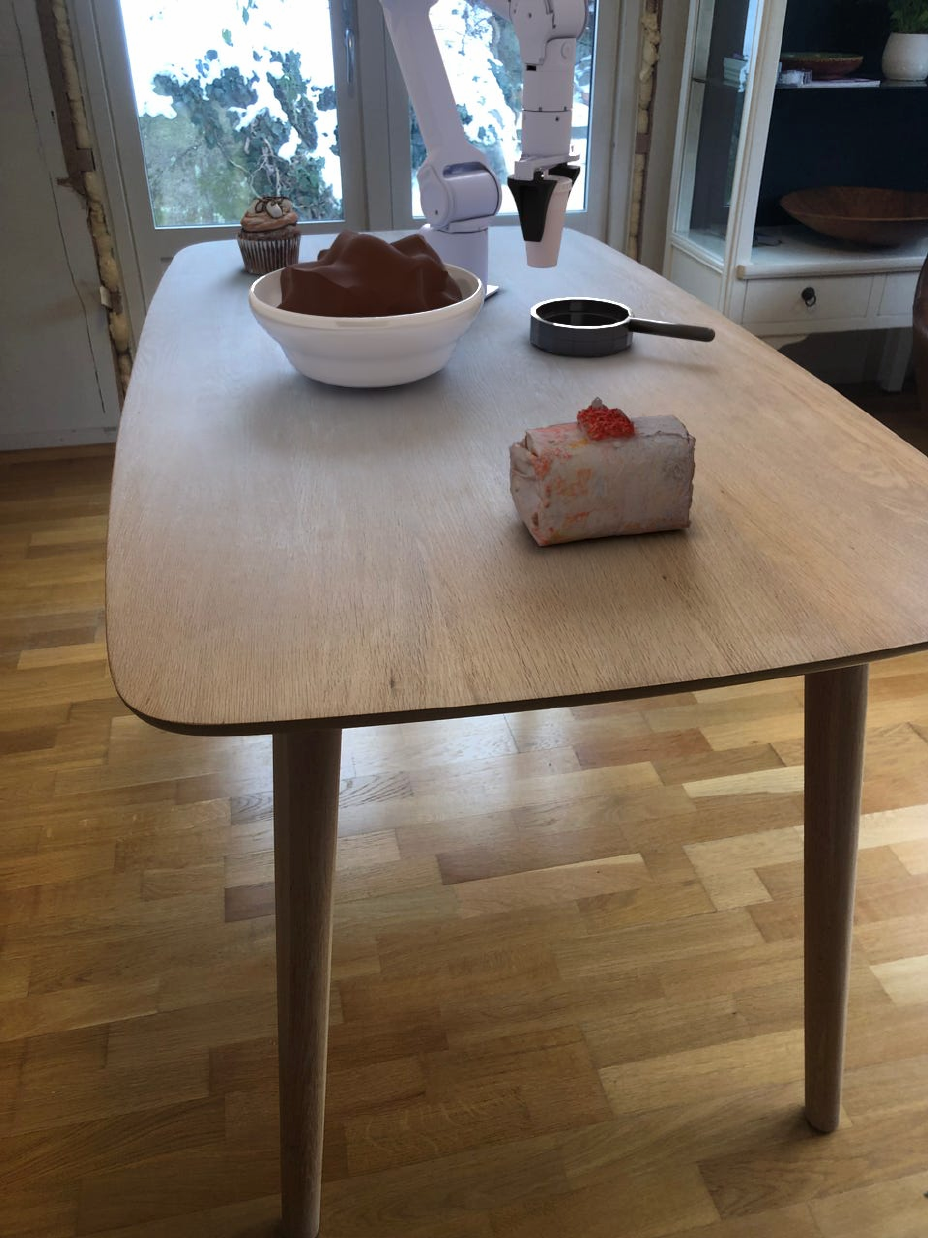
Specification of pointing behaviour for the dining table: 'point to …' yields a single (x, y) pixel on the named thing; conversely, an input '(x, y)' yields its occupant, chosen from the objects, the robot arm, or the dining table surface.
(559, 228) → the smoothie
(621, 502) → the food item
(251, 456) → the dining table surface
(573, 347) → the pan
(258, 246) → the cupcake
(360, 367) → the bowl of chocolate mousse
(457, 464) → the dining table surface
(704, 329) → the pan handle
